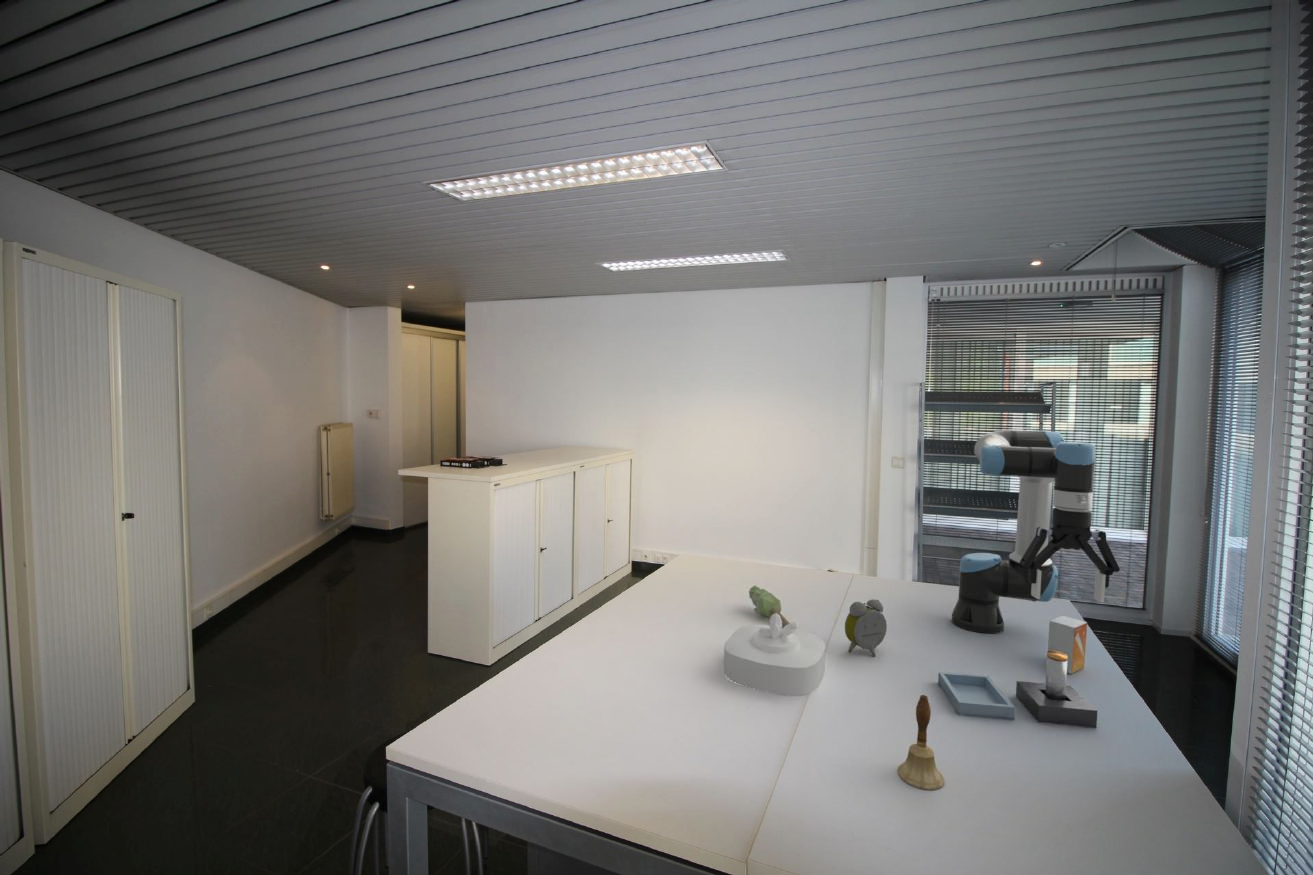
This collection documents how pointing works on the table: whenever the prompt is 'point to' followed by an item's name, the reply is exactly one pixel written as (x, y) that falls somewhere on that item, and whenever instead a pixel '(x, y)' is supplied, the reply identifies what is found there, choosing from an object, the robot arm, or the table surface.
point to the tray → (976, 696)
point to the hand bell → (921, 755)
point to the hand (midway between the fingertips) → (1066, 598)
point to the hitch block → (1056, 706)
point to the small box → (1069, 640)
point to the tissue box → (775, 658)
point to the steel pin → (1056, 675)
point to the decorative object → (766, 603)
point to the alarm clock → (865, 625)
